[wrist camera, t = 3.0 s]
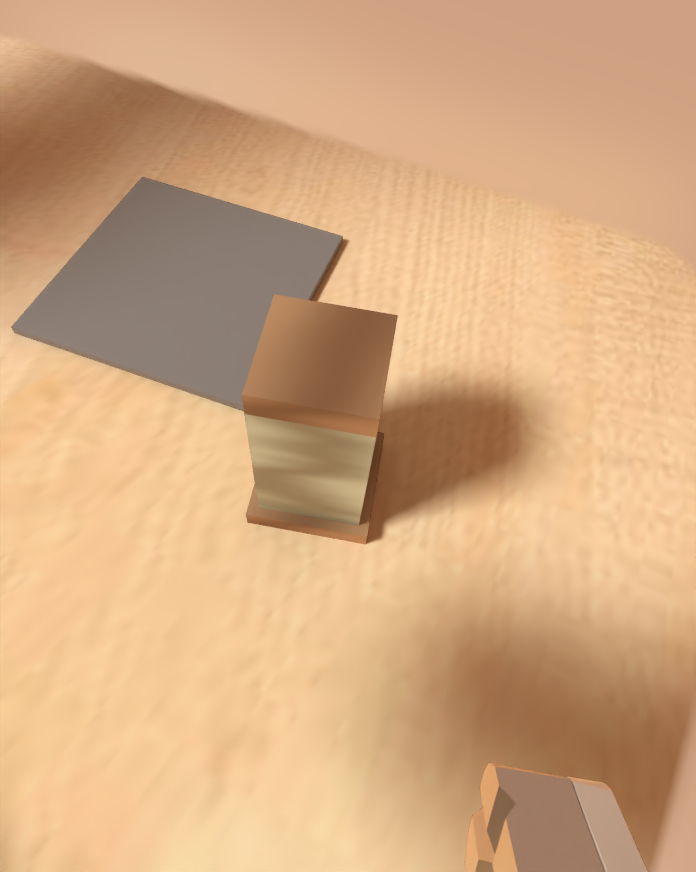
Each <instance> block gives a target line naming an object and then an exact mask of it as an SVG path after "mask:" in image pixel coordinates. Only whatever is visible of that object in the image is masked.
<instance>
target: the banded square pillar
mask: <svg viewBox="0 0 696 872" xmlns="http://www.w3.org/2000/svg"><path fill="white" fill-rule="evenodd" d="M397 316H398V315H392V314H386V313H380V312H375V311H369V310H363V309H357V308H351V307H346V306H340V305H334V304H328V303H322V302H316V301H311V300H305V299H299V298H293V297H287V296H282V295H276V294H274V296H273V299H272V302H271V305H270V309H269V312H268V315H267V318H266V321H265V324H264V327H263V330H262V333H261V336H260V340H259V343H258V346H257V349H256V352H255V355H254V358H253V361H252V364H251V368H250V371H249V374H248V377H247V380H246V383H245V386H244V389H243V392H242V400H243V407H244V413H245V420H246V427H247V433H248V440H249V447H250V453H251V460H252V466H253V473H254V480H255V485H254V488H253V492H252V495H251V499H250V502H249V506H248V509H247V513H246V517H247V522H248V523H253V524H259V525H264V526H270V527H275V528H280V529H286V530H291V531H297V532H302V533H307V534H313V535H318V536H323V537H329V538H334V539H340V540H345V541H350V542H356V543H361V544H366V540H367V535H368V529H369V523H370V517H371V511H372V505H373V499H374V493H375V487H376V480H377V474H378V468H379V462H380V456H381V450H382V444H383V438H384V433H380V432H377V431H378V426H379V421H380V416H381V410H382V404H383V398H384V392H385V386H386V381H387V375H388V369H389V363H390V357H391V351H392V346H393V340H394V334H395V328H396V322H397Z"/></svg>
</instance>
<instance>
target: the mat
mask: <svg viewBox="0 0 696 872" xmlns="http://www.w3.org/2000/svg"><path fill="white" fill-rule="evenodd" d="M342 238H343V236H340V235H337V234H334V233H330V232H327V231H323V230H320V229H317V228H313V227H310V226H307V225H303V224H300V223H296V222H293V221H290V220H286V219H283V218H280V217H276V216H273V215H269V214H266V213H263V212H259V211H256V210H253V209H249V208H246V207H242V206H239V205H236V204H232V203H229V202H226V201H222V200H219V199H215V198H212V197H209V196H205V195H202V194H199V193H195V192H192V191H189V190H185V189H182V188H178V187H175V186H172V185H168V184H165V183H162V182H158V181H155V180H151V179H148V178H145V177H142V178H141V179H140V180H139V181H138V182H137V183H136V185H135V186H134V187H133V188H132V189H131V190H130V192H129V193H128V194H127V195H126V196H125V197H124V198H123V200H122V201H121V202H120V203H119V204H118V205H117V206H116V208H115V209H114V210H113V211H112V212H111V213H110V214H109V216H108V217H107V218H106V219H105V220H104V221H103V222H102V224H101V225H100V226H99V227H98V228H97V229H96V230H95V232H94V233H93V234H92V235H91V236H90V237H89V238H88V240H87V241H86V242H85V243H84V244H83V245H82V246H81V248H80V249H79V250H78V251H77V252H76V253H75V255H74V256H73V257H72V258H71V259H70V260H69V261H68V263H67V264H66V265H65V266H64V267H63V268H62V269H61V271H60V272H59V273H58V274H57V275H56V276H55V277H54V279H53V280H52V281H51V282H50V283H49V284H48V285H47V287H46V288H45V289H44V290H43V291H42V292H41V293H40V295H39V296H38V297H37V298H36V299H35V300H34V301H33V303H32V304H31V305H30V306H29V307H28V308H27V309H26V311H25V312H24V313H23V314H22V315H21V316H20V318H19V319H18V320H17V321H16V322H15V323H14V324H13V326H12V327H11V328H12V329H13V331H14V333H17V334H19V335H22V336H25V337H28V338H31V339H34V340H37V341H40V342H43V343H46V344H49V345H52V346H55V347H58V348H60V349H63V350H66V351H69V352H72V353H75V354H78V355H81V356H84V357H87V358H90V359H93V360H96V361H99V362H101V363H104V364H107V365H110V366H113V367H116V368H119V369H122V370H125V371H128V372H131V373H134V374H137V375H140V376H142V377H145V378H148V379H151V380H154V381H157V382H160V383H163V384H166V385H169V386H172V387H175V388H178V389H181V390H183V391H186V392H189V393H192V394H195V395H198V396H201V397H204V398H207V399H210V400H213V401H216V402H219V403H222V404H224V405H227V406H230V407H233V408H236V409H239V410H242V411H244V407H243V400H242V392H243V389H244V386H245V383H246V380H247V377H248V374H249V371H250V368H251V364H252V361H253V358H254V355H255V352H256V349H257V346H258V343H259V340H260V336H261V333H262V330H263V327H264V324H265V321H266V318H267V315H268V312H269V309H270V305H271V302H272V299H273V296H274V294H276V295H282V296H287V297H293V298H299V299H305V300H311V299H312V297H313V295H314V294H315V292H316V290H317V288H318V286H319V284H320V282H321V281H322V279H323V277H324V275H325V273H326V271H327V269H328V268H329V266H330V264H331V262H332V260H333V258H334V256H335V255H336V253H337V251H338V249H339V247H340V245H341V243H342Z"/></svg>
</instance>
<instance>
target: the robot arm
mask: <svg viewBox="0 0 696 872" xmlns="http://www.w3.org/2000/svg"><path fill="white" fill-rule="evenodd" d="M480 793H481V799H482V805H483V808H481V809H480V810H479V811H478V812H476V813H475V814H474V815H472V819H471V823H470V828H469V832H468V836H467V846H466V856H465V872H648V870H647V868H646V866H645V864H644V861H643V859H642V857H641V855H640V852H639V850H638V848H637V846H636V844H635V841H634V839H633V837H632V835H631V832H630V830H629V828H628V826H627V823H626V821H625V819H624V817H623V815H622V812H621V810H620V808H619V806H618V803H617V801H616V799H615V797H614V794H613V792H612V790H611V789H610V788H609V787H608V786H607V785H606V784H605V783H603V782H597V781H592V780H586V779H580V778H574V777H568V776H566V777H562V776H557V775H552V774H547V773H541V772H536V771H531V770H526V769H520V768H515V767H510V766H505V765H499V764H494V763H488V765H487V767H486V769H485V771H484V774H483V777H482V781H481V784H480Z"/></svg>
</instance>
